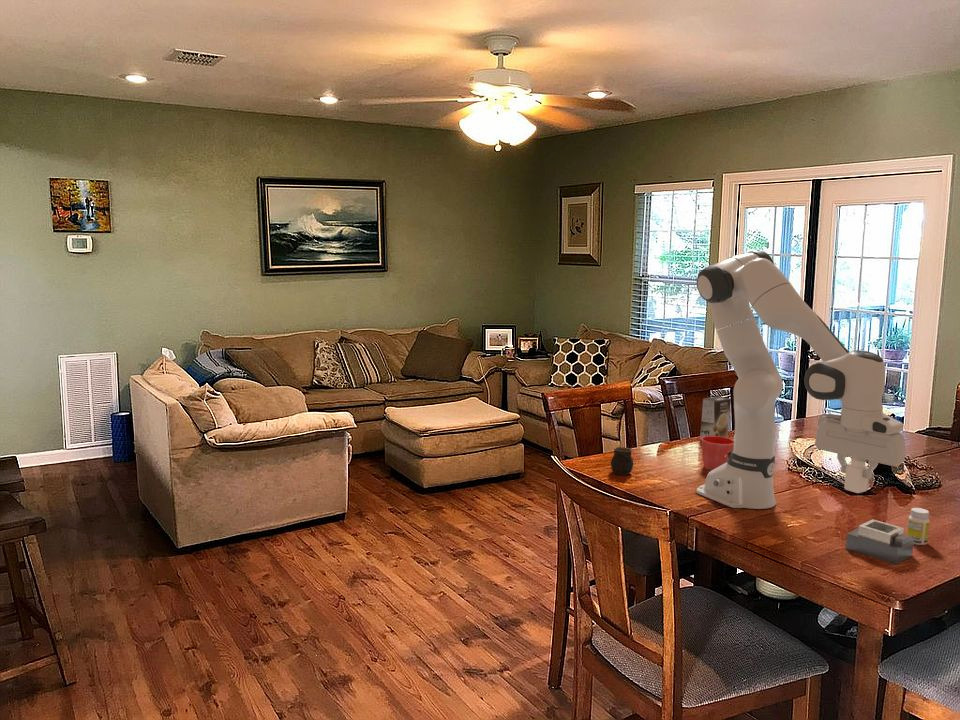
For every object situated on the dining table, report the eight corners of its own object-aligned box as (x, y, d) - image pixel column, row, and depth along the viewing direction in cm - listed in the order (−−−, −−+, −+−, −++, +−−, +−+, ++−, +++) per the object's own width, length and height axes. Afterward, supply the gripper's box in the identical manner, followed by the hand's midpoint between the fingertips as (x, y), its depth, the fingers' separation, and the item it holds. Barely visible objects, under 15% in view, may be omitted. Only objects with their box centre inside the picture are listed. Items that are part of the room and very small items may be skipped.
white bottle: (852, 487, 192) (856, 449, 191) (868, 491, 189) (871, 453, 188) (842, 489, 190) (846, 451, 189) (858, 494, 187) (862, 455, 185)
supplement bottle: (920, 538, 202) (924, 507, 201) (931, 545, 197) (935, 513, 196) (902, 538, 202) (905, 506, 200) (912, 545, 197) (916, 513, 196)
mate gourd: (615, 468, 257) (617, 438, 255) (637, 472, 253) (639, 443, 251) (606, 473, 251) (608, 443, 249) (628, 478, 247) (630, 447, 245)
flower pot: (728, 464, 265) (731, 436, 263) (736, 473, 254) (738, 444, 252) (696, 462, 266) (698, 434, 264) (702, 472, 255) (704, 443, 253)
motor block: (845, 548, 194) (848, 523, 193) (862, 540, 200) (864, 516, 199) (896, 564, 185) (899, 538, 184) (912, 555, 191) (915, 530, 189)
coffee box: (714, 443, 291) (717, 401, 288) (699, 440, 295) (702, 398, 293) (728, 440, 296) (731, 398, 294) (713, 436, 301) (716, 395, 299)
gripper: (812, 413, 193) (808, 467, 195) (898, 429, 177) (892, 488, 179) (825, 409, 197) (821, 463, 199) (910, 425, 181) (905, 483, 183)
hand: (856, 475), depth 189 cm, fingers closed on white bottle, 4 cm apart
